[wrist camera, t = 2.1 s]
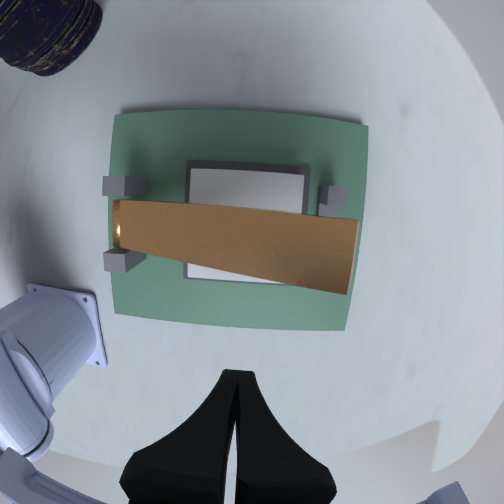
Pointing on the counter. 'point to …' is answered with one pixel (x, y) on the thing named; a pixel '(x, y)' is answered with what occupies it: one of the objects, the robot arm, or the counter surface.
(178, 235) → the hold-down strap
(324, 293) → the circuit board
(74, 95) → the counter surface
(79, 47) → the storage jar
